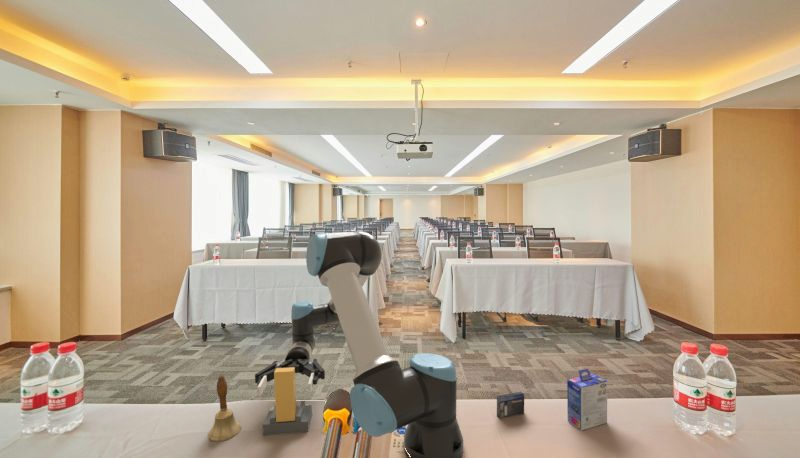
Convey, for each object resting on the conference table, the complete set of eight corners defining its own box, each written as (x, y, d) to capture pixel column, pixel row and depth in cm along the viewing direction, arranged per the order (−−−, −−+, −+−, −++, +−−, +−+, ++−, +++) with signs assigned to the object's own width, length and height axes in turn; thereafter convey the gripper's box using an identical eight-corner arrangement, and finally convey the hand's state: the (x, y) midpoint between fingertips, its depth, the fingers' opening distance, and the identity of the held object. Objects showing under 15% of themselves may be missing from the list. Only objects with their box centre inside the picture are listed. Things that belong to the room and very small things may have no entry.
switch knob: (296, 415, 101) (294, 367, 99) (294, 420, 98) (293, 371, 97) (278, 416, 100) (276, 368, 99) (276, 422, 98) (274, 372, 97)
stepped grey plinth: (312, 414, 106) (311, 400, 106) (308, 431, 98) (307, 416, 98) (270, 417, 105) (270, 402, 105) (263, 435, 97) (262, 419, 97)
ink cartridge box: (591, 412, 106) (592, 364, 105) (608, 423, 100) (609, 373, 99) (565, 419, 102) (566, 370, 101) (581, 431, 97) (582, 379, 96)
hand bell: (228, 443, 94) (225, 384, 93) (201, 439, 96) (197, 382, 95) (247, 424, 102) (245, 370, 101) (222, 421, 104) (219, 367, 103)
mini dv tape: (499, 418, 103) (499, 398, 103) (496, 415, 105) (496, 396, 104) (524, 413, 106) (524, 394, 105) (521, 410, 107) (521, 391, 107)
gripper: (336, 365, 121) (330, 400, 100) (260, 370, 119) (238, 406, 98) (335, 344, 121) (329, 374, 100) (259, 348, 118) (236, 379, 97)
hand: (284, 390), depth 99 cm, fingers open, 13 cm apart
